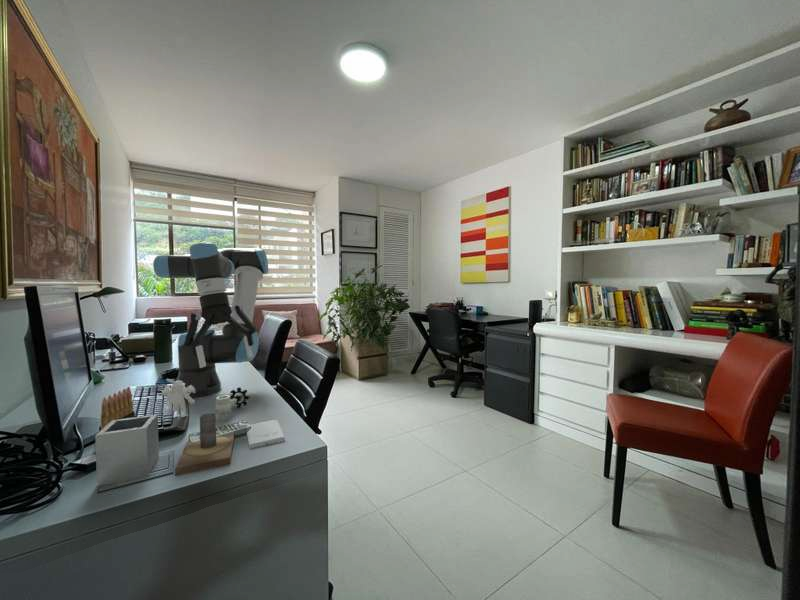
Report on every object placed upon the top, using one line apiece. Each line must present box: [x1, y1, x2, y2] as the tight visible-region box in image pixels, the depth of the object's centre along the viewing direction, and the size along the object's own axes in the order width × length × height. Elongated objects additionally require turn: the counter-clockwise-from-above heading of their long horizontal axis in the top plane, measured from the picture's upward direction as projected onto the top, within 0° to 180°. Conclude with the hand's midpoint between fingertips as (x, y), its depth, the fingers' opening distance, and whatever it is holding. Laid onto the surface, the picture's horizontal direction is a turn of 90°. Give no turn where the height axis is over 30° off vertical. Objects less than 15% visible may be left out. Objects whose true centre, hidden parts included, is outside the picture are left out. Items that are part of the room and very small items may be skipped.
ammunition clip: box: [98, 386, 136, 433], centre depth 83 cm, size 11×2×12 cm, turn 10°
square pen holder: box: [95, 413, 160, 487], centre depth 67 cm, size 8×8×10 cm
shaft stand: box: [174, 412, 235, 476], centre depth 75 cm, size 16×10×9 cm, turn 24°
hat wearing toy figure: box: [161, 378, 195, 413], centre depth 97 cm, size 9×4×12 cm, turn 97°
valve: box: [214, 386, 251, 422], centre depth 99 cm, size 7×7×12 cm
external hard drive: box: [246, 419, 286, 449], centre depth 84 cm, size 2×8×12 cm
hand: (227, 362), depth 98 cm, fingers open, 13 cm apart
